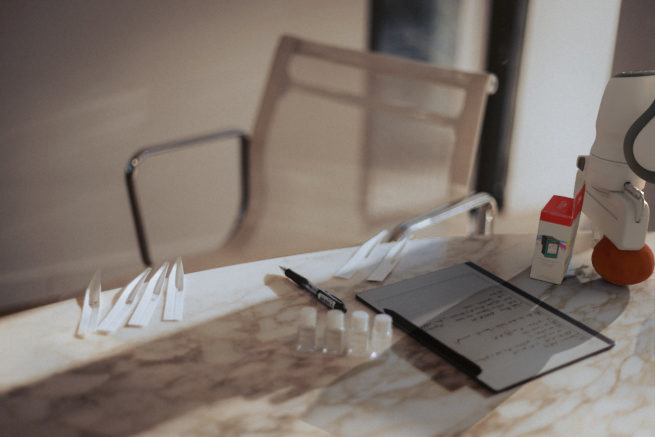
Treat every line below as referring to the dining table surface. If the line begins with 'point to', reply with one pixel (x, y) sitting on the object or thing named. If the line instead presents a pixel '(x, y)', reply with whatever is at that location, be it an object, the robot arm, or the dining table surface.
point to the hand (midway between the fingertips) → (598, 251)
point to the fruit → (622, 263)
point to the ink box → (556, 237)
